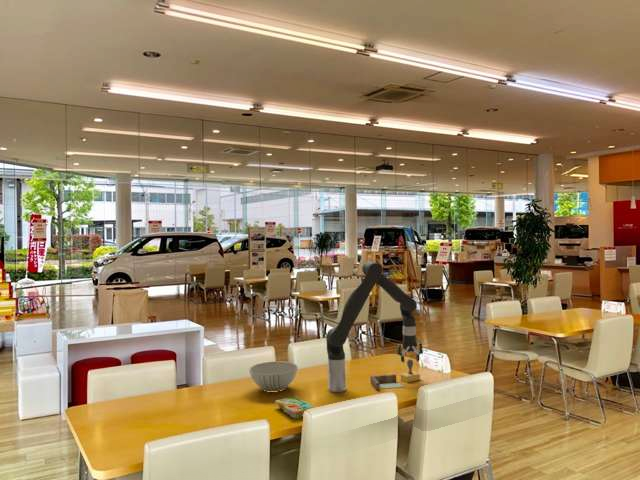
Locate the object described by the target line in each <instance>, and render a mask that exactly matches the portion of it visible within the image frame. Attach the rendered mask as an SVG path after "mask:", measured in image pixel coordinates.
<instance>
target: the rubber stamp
mask: <svg viewBox="0 0 640 480" xmlns="http://www.w3.org/2000/svg"><path fill="white" fill-rule="evenodd" d="M406 365H407V368H408V370H409V371H408V372H404V373H401V374H400V381H402V382H404V383H407V384H408V383H410V382H412V383H413V382H415V381H421V373H419V372H417V371H414V370H413V371H412V369H413V366H414V361H413V360H412V359H411V358H410V359H407V362H406Z"/></svg>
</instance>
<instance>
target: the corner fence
mask: <svg viewBox="0 0 640 480" xmlns="http://www.w3.org/2000/svg"><path fill="white" fill-rule="evenodd" d="M384 383H397V374H395V373H394V374H393V373H392V374H382V375H381V374H380V375H370V384H371V385H372V387H373V388H374V389H375V390H376V391H380V386H379V384H384Z"/></svg>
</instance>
